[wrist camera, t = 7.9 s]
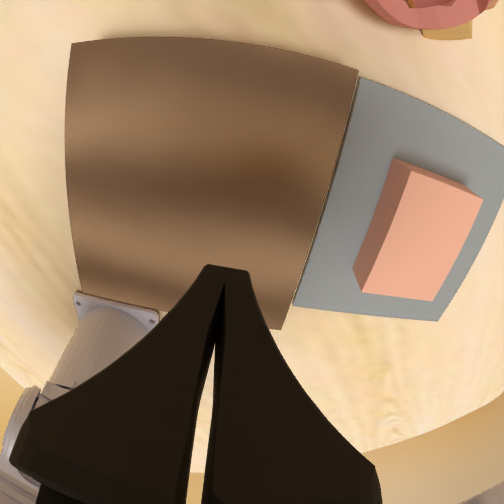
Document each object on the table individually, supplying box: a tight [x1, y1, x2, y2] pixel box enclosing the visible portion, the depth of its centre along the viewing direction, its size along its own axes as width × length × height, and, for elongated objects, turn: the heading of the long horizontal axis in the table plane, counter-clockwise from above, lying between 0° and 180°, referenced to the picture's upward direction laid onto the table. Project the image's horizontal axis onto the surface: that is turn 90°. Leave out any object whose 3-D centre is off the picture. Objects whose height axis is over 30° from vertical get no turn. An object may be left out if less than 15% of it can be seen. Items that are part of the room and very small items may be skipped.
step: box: [65, 37, 359, 330], centre depth 16 cm, size 16×14×3 cm
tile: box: [352, 158, 483, 301], centre depth 17 cm, size 8×6×2 cm
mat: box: [292, 77, 504, 321], centre depth 18 cm, size 16×14×1 cm
